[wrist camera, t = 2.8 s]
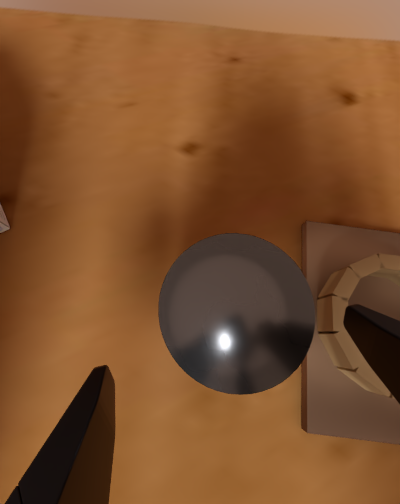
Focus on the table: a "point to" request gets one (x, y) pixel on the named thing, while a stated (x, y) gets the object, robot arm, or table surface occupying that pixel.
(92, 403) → the robot arm
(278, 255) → the hinge pin
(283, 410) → the table surface
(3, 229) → the light bulb box
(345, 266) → the beige socket base plate
